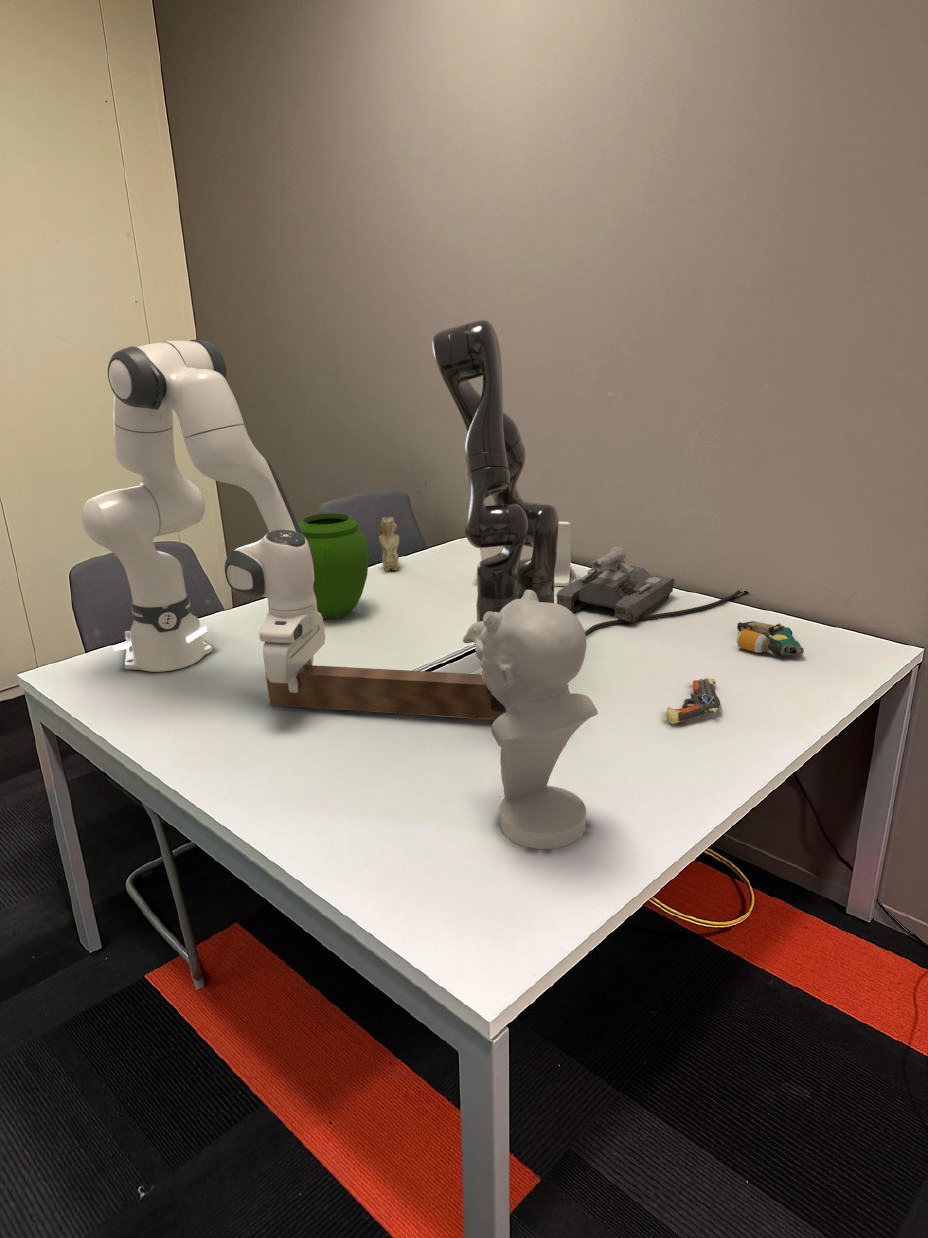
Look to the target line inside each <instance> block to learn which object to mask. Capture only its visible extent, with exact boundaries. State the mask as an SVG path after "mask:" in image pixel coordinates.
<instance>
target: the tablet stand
mask: <svg viewBox="0 0 928 1238" xmlns="http://www.w3.org/2000/svg"><path fill="white" fill-rule="evenodd" d="M502 548H503V546H499V547H489V548H479V551H480V557H481V558H480V559H481V561H482V560H484V559H486V558H489V557H492V556H495V555H497V554H498V553H500V551H501V550H502ZM532 552H533V547H528V546H523V548H522V552H521V556H520V560H522V559H526V558H530V557H532ZM571 560H572V558H571V522H569V521H559V528H558V543H557V560H556V566H555V571H554V587H556V586H557V587H566V586H567V585H569V584H570V580H571V579H570V578H571V565H572V564H571Z"/></svg>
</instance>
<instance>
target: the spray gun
mask: <svg viewBox="0 0 928 1238" xmlns="http://www.w3.org/2000/svg"><path fill="white" fill-rule="evenodd" d="M736 625H737V626H736V629H737V631H738V632H739V633H738V634H737V637H736V644H737V647H739V649H743V650H746V651H750V652H753V653H759V654H760V653H763V652H764V653H766V652H768V651H769V650H771V651H773V652H776V653H780V654H781V655H782V656H784V655H786V656H800V657H801V656H803V655H804V652H805V648H803V647H802V645H801V644H800V642H799V641H798V640H796V639H795V637H794V636H793V630H792V629H791V628H790V627H788V626H787V627H785V625H782V624H781V622H778V623H776V624H775V625H774V624H769V623H764V622H760V621H755V620H751V621H746V622H741V621H739V622H737V624H736Z"/></svg>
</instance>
